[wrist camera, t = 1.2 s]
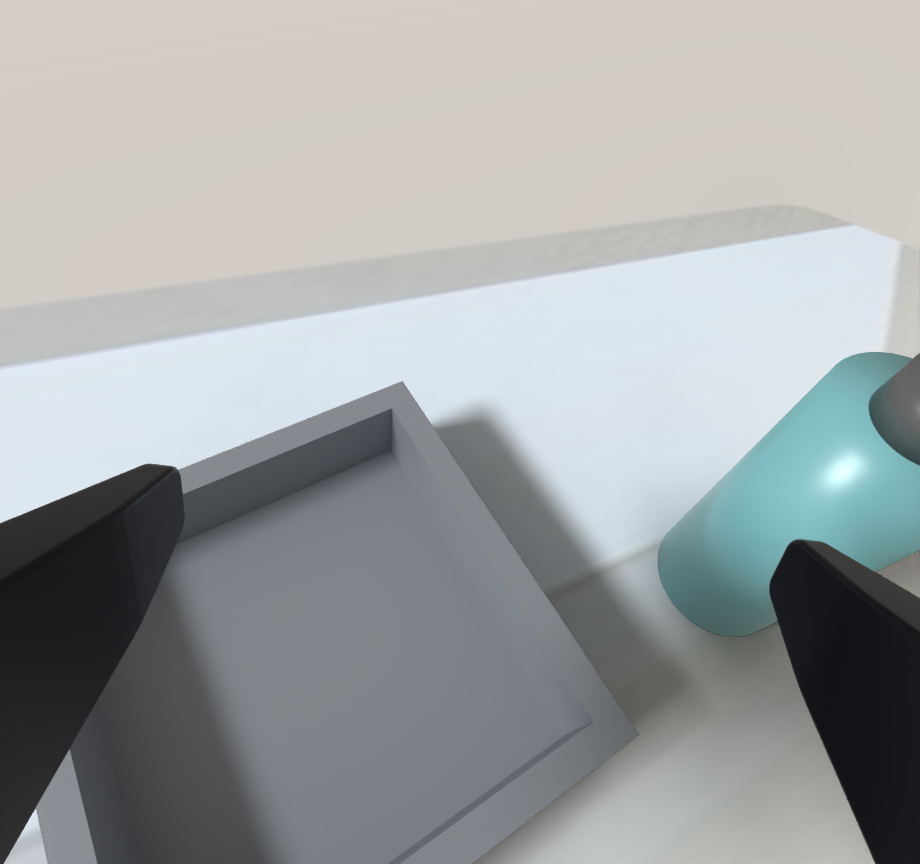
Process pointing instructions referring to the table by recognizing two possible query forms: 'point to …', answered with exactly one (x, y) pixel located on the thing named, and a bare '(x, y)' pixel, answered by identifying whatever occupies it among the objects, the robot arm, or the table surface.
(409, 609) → the tray
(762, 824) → the table surface
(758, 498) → the capped bottle
